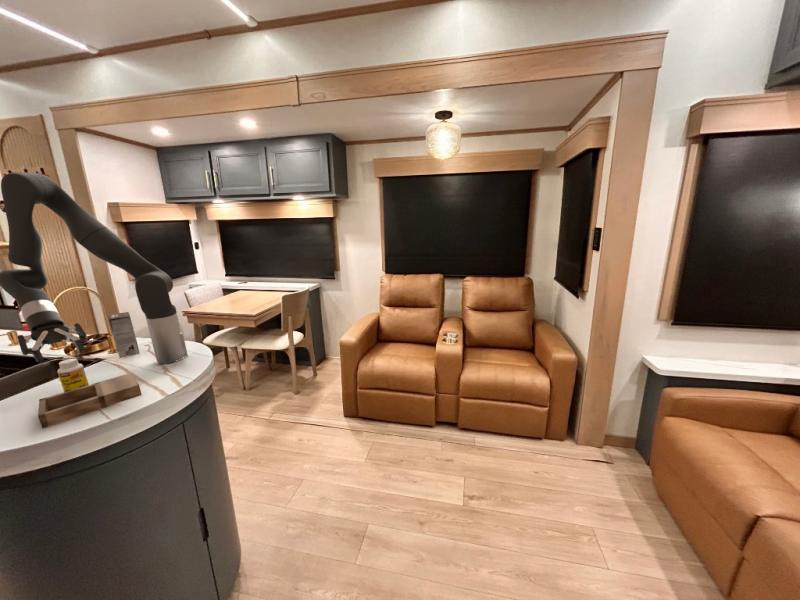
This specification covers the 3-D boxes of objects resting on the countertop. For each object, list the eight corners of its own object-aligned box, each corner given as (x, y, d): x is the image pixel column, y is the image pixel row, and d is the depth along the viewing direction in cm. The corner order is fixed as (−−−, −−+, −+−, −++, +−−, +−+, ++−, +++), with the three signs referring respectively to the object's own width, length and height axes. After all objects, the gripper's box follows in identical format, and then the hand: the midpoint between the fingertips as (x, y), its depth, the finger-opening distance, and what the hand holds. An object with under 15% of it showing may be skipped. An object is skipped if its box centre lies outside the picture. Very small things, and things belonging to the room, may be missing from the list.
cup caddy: (134, 382, 103) (132, 372, 102) (141, 395, 94) (139, 384, 94) (43, 410, 88) (39, 399, 88) (42, 428, 80) (37, 416, 79)
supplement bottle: (62, 397, 95) (51, 366, 92) (68, 390, 100) (58, 360, 97) (87, 391, 98) (77, 361, 95) (91, 384, 102) (82, 355, 100)
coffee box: (118, 352, 129) (107, 314, 125) (138, 347, 133) (128, 311, 129) (119, 358, 123) (108, 319, 119) (140, 353, 127) (130, 315, 123)
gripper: (7, 316, 95) (27, 359, 91) (72, 304, 106) (93, 342, 103) (10, 330, 99) (29, 371, 95) (72, 317, 110) (92, 354, 107)
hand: (62, 356), depth 99 cm, fingers open, 8 cm apart
